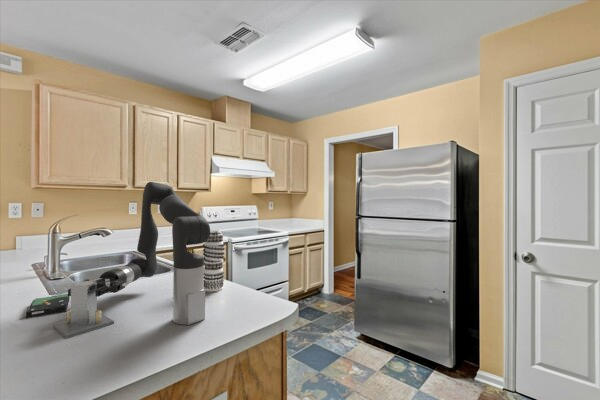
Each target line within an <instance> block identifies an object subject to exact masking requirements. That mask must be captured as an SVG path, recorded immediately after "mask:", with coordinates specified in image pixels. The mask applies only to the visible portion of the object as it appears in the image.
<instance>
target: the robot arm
mask: <svg viewBox="0 0 600 400" xmlns="http://www.w3.org/2000/svg"><path fill="white" fill-rule="evenodd" d="M141 200H142V202H141V219H140V223H141V224H140V231H139V232H140V233H139V237H138V244H137V248H136V251H137V252H138V253H140V254H142V255H144V256H145V258H133V259H131V260H130V261H129V262H128V263H127V264H125V265H122V266H118V267H115V268H112V269H109V270H107V271H104V272H103V273H101V274H100V276H99V278H96V279H92V280H90V279H88V278H87V279H84V280H83V281H91V282H97V290H96V297H97V298H98V297H101V296H103V295H105V294H110V293H113V294H116V293H118V292H120V291H122V290H123V289H125V288H126V287H127V286H128V285H130V284H131V283H134V282H136V281H137V280H139V278H140V277H144V278H151V277H153V276H154V275H155V274H156V273H157V269H158V261H157V250H156V249H157V245H158V239H159V231H158V228H157V223H155V220H154V217H153V215H152V205H158V206H159V207H158V209H159V213H160V214H161V216H162V217H163V218H164V220H165V221H166V222H167V223H169V224H171V225H172V230H171V234H172V237H171V238H172V259H173V276H172V277H173V279H172V280H173V283H172V284H173V285H172V286H173V289H172V290H173V291H172V292H173V293H172V295H173V296H172V322H173V323H174V324H177V325H187V326H190V325H193V324H195V323H198V322H200V321H203V320H205V319H206V291H205V290H204V280H205V279H204V276H205V275H204V268H205V263H204V255H201V254H198V253H193V252H191V251H188V249H187V246H193V245H201V244H204V242H206V241H207V240H208V239H209V237H210V231H211V226H210V224H209V222H208V221H209V220H207V219H206V217H204V216H203V215H201V214H200V213H198V212H196V211H195V210H193V208H192V207H190V206H189V205H188V204H187V203H186V202H185V201H184V200H183V199H182V198H180V197H179V195H177V194H176V192H175V190H174V189H173V187H172V186H170V185H168V184H163V183H161V182H160V183H159V182H155V181H148V182H146V183H145V185H144V188H143V193H142V199H141ZM67 294H68V296H70V297H71V287H70V288H69V289H68V290H67Z"/></svg>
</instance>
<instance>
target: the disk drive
mask: <svg viewBox="0 0 600 400" xmlns="http://www.w3.org/2000/svg"><path fill="white" fill-rule="evenodd" d="M70 300H71V296H68V293H65V294H59V295H52V296H46V297H40V298H35V299H33V300H32V302H31V303H30V305H29V307H28V308H27V310H26V312H25V313H26V314H25V317H26V319H30V318H37V317H42V316H49V315H53V314H54V315H55V314H61V313H67V311H68V306H69V304H70V303H69V302H70Z"/></svg>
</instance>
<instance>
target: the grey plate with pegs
mask: <svg viewBox="0 0 600 400" xmlns="http://www.w3.org/2000/svg"><path fill="white" fill-rule="evenodd" d="M113 324H115V320H113V319H112V318H110V317H109V316H107V315H105V314H103V313H102V310H101V309H100V310H98V309H97V311H95V321H94V322H92V323H90V324H89V325H71V309H70V310H66V320H64V321H63V320H62V321H59V322H56V323H53V324H52V327H53V328H54V329H55V330H56V331H57V332H58V333H60V334H61V335H62V336H63V337H65V339H68V338H71V337H75V336H78V335H82V334H85V333H88V332H91V331H95V330H97V329H98V330H99V329H100V328H104V327H107V326H110V325H113Z"/></svg>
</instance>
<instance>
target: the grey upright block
mask: <svg viewBox="0 0 600 400" xmlns="http://www.w3.org/2000/svg"><path fill="white" fill-rule="evenodd" d="M70 288H71V296H70V310H71V325H89V324H90V323H92V322H94V321H95V311H98V297H96V290H97V282H91V280H89V281H84V280H81V281H78V282H75V283H73V284H71V285H70Z"/></svg>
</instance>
